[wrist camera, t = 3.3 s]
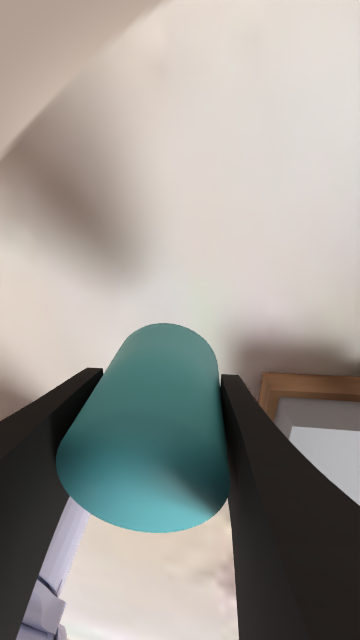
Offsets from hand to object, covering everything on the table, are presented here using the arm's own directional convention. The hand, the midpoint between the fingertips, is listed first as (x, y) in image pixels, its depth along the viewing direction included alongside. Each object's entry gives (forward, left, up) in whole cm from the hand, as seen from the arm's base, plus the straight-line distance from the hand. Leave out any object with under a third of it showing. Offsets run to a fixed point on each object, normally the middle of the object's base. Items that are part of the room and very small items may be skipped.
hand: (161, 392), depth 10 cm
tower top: (+10, -8, -6) cm, 14 cm away
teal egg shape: (0, 0, -2) cm, 2 cm away
